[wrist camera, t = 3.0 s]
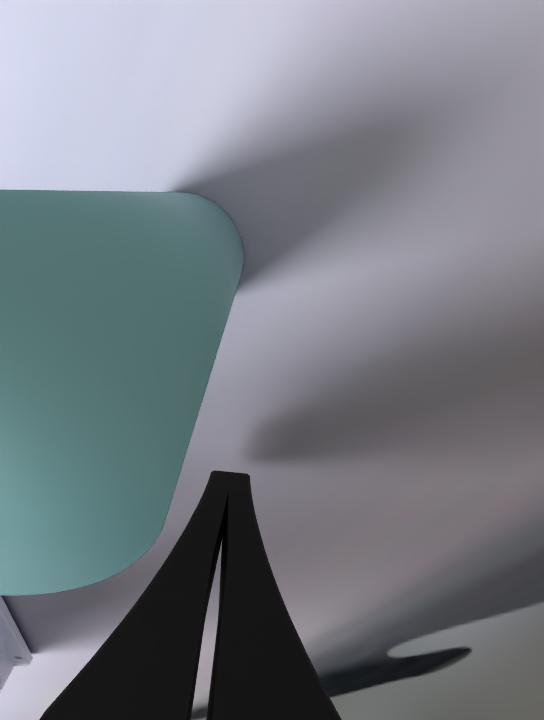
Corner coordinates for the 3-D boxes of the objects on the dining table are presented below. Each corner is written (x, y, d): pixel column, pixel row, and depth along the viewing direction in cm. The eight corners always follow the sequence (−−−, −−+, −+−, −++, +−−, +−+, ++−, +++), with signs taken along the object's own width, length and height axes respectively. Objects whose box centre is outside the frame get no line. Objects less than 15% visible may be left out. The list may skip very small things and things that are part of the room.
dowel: (238, 313, 10) (170, 605, 3) (136, 298, 10) (-215, 583, 3) (250, 203, 8) (169, 255, 1) (130, 182, 8) (-744, 110, 1)
